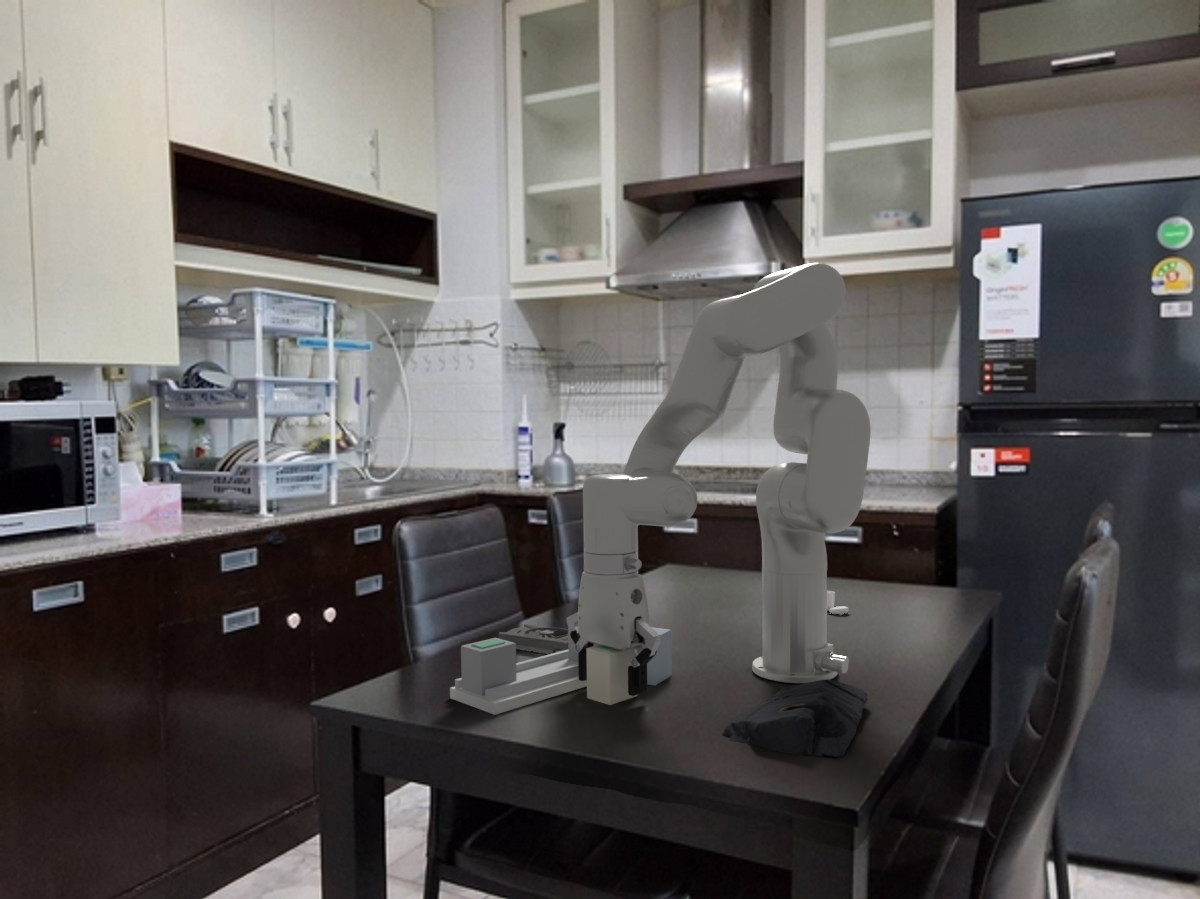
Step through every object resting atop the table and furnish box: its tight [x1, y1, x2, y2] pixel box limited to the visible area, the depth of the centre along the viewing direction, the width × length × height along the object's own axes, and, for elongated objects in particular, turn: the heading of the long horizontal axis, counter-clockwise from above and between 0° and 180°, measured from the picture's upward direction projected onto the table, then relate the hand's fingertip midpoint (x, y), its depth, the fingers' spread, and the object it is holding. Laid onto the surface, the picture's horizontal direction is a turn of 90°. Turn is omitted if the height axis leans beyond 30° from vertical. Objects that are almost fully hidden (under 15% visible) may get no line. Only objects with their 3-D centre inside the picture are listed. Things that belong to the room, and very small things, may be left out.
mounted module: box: [460, 637, 517, 696], centre depth 126 cm, size 4×6×6 cm
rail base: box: [449, 650, 587, 716], centre depth 133 cm, size 10×26×3 cm, turn 135°
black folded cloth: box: [722, 679, 868, 758], centre depth 116 cm, size 15×22×5 cm
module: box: [637, 626, 673, 686], centre depth 135 cm, size 4×6×7 cm
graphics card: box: [498, 623, 568, 657], centre depth 155 cm, size 17×4×12 cm
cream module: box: [586, 645, 639, 706], centre depth 127 cm, size 4×6×7 cm
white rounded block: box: [827, 590, 850, 615], centre depth 178 cm, size 9×8×4 cm
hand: (612, 685), depth 127 cm, fingers open, 9 cm apart
